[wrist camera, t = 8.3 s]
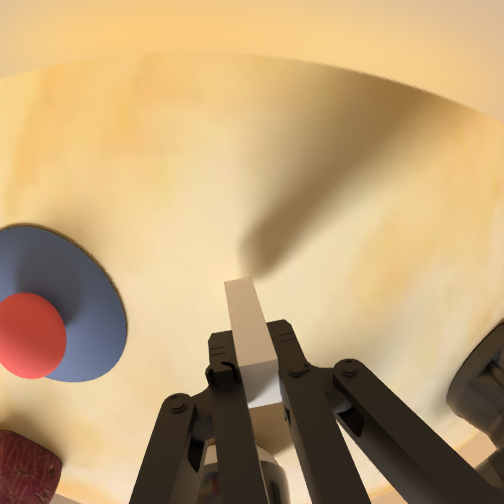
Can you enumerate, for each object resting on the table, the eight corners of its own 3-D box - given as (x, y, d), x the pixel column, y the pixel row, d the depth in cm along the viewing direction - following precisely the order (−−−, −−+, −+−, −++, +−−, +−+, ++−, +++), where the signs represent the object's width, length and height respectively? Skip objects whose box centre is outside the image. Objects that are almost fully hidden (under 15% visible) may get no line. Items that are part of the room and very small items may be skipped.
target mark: (90, 205, 16) (88, 206, 16) (150, 374, 22) (150, 376, 21) (-48, 247, 15) (-50, 248, 15) (20, 381, 20) (20, 382, 20)
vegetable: (-5, 405, 25) (-66, 471, 11) (62, 437, 27) (11, 526, 12) (10, 458, 27) (-33, 522, 12) (71, 486, 28) (38, 564, 13)
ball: (50, 268, 18) (39, 307, 13) (79, 335, 20) (81, 384, 16) (-13, 292, 16) (-35, 334, 11) (20, 354, 18) (11, 404, 13)
